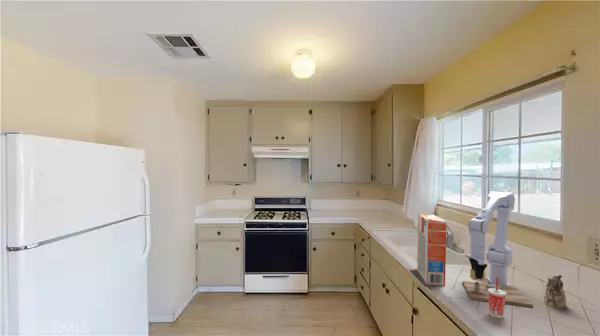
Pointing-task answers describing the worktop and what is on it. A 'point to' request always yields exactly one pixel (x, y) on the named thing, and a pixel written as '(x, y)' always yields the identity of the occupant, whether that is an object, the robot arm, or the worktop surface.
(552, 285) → the figurine
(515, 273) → the worktop surface
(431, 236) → the orange cereal box
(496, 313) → the beverage cup
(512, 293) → the carrier plate
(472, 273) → the brass gear
